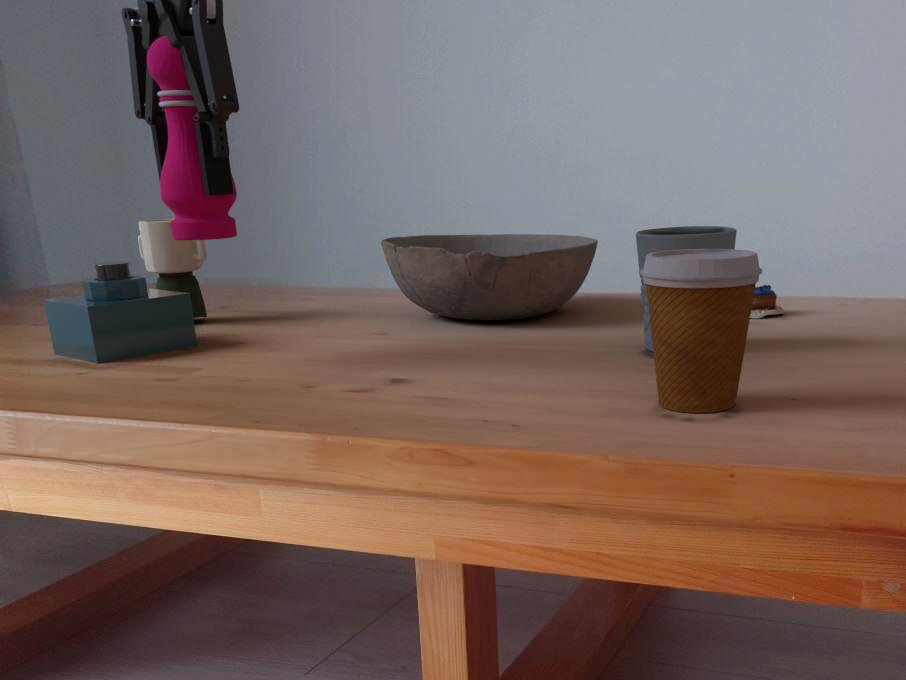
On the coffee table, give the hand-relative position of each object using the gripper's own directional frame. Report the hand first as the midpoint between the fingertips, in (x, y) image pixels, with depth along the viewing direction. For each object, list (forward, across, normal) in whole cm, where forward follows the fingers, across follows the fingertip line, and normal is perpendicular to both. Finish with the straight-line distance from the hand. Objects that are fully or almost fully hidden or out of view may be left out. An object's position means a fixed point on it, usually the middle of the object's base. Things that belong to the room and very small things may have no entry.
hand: (197, 194), depth 100 cm
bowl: (+17, -2, -40) cm, 43 cm away
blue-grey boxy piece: (+17, +16, +2) cm, 23 cm away
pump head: (+9, +16, +2) cm, 19 cm away
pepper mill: (+4, 0, 0) cm, 4 cm away
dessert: (+17, -31, -57) cm, 67 cm away
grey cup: (+17, -36, -33) cm, 52 cm away
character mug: (+17, +29, -13) cm, 36 cm away
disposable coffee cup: (+17, -51, -12) cm, 55 cm away
